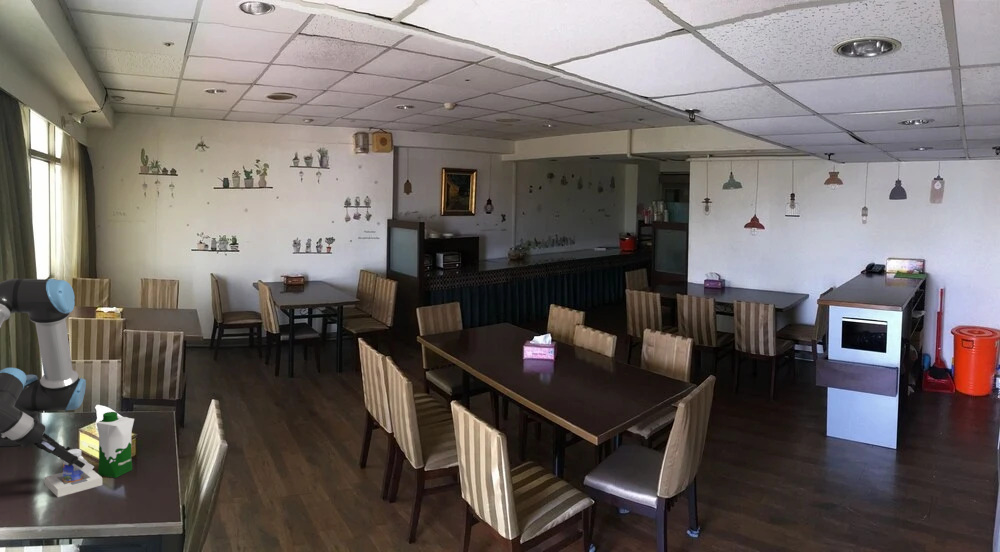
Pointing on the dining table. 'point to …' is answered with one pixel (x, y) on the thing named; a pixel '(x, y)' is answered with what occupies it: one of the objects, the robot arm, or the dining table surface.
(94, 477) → the plate
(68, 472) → the pill bottle
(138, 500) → the dining table surface
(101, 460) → the milk carton
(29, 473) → the dining table surface
